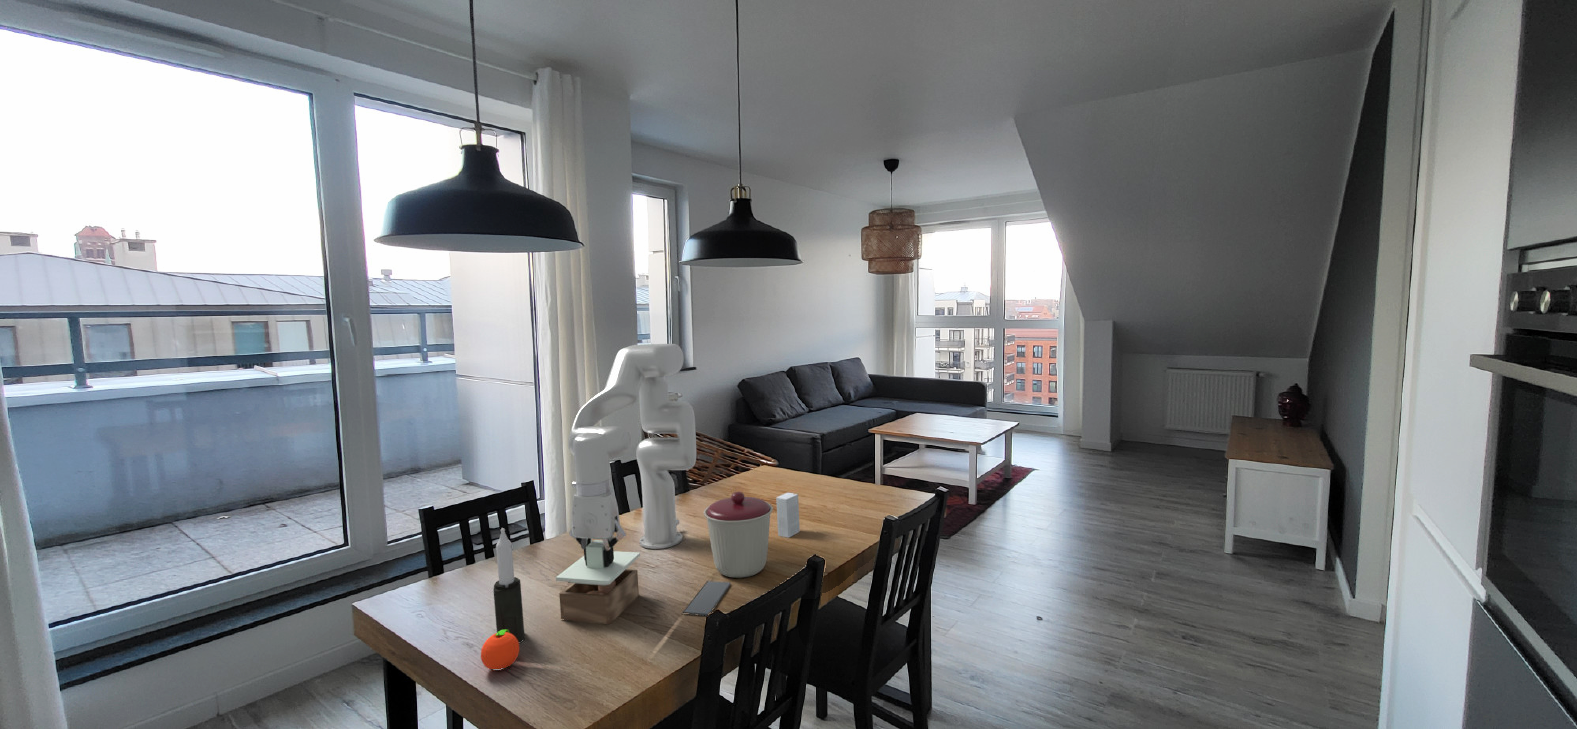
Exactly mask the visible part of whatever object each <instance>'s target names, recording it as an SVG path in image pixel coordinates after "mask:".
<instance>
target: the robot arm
mask: <svg viewBox="0 0 1577 729" xmlns="http://www.w3.org/2000/svg"><path fill="white" fill-rule="evenodd" d="M684 358H685V357H684V352H683V350H682V348H681V347H680V346H679V345H678V344H677V343H651V344H650V343H646V344H645V343H644V344H643V343H642V344H633V345H629V346H626V347H623V348H621V349H620V350H618V352H617V353H616V356H615V357H614V361H613V362H612V363H613V364H612V366H611V369H610V371H609V374H608V377H607V381H606V383H605V386H604V389H603V390H601V391H600V392H599V393H597V394H595V395H594V396H593V397H592V398H591V399H589V401H587V402H586V403H585V404H584V405H583V406H581V408H580V409H579V410H578V412H577V414H576V416H575V419H574V421H573V423H572V425H571V429H570V432H569V435H568V442H567V444H568V445H567V446H568V450H569V452H570V454H572V456H573V459H574V472H575V481H573V482H572V483H571V487H572V488H574V489H575V491H576V493H574V494H573V497H572V505H571V529H570V530H569V532H568V534H569V536H570V537H571V538H573V539H575V540H576V542H577V543H578V544H580V547H581V549H582V550H583V556H584V559H585V563H586V566H587V557H586V546H588V545H589V544H590V543H592V542H593V540H603V543H604V547H605V550H604V551H603V557H604V566H605V567H608V566H609V565H610V564H611V563H612V562H613V560H614V551H615V550H614V546H616V544H617V543H618V542H619V541H621V540H622V539H624V538H625V537H626V536H627V534H626V532H625V530H624V529H623V527H622V525H621V522H620V521H621V520H620V514H619V506H618V502H617V498H616V495H615V491H614V490H612V485H611V484H612V483H611V469H610V466H611V465H610V460H614V459H618V458H621V457H623V456H624V455H625V454H626V453H627V452H628V451H629V449H630V447H631V444H632V443H631V441H632V439H631V434H630V432H629V431H628V429H626V428H624V427H622V426H616V425H612V426H609V425H608V426H607V425H606V426H605V425H604V426H603V425H599V426H596V424H597V423H598V422H600V421H602V420H603V419H605V418H606V417H609V416H610V415H613V414H616V413H618V412H620V411H623V410H626V409H628V408H629V407H631V406H633V405H634V404H635V403H636V402H637V401H638V400H637V399H639V416H640V418H639V420H640V421H639V422H640V425H641V429H642V430H643V432H644V433H647V434H655V435H656V434H675V435H677V437H647V438H645V439H643V440H641V441H640V442H639V443H638V445H637V446H636V450H635V451H636V452H635V453H636V462H637V464H638V468H639V473H640V481H641V494H642V498H641V499H642V513H643V514H642V515H643V529H644V530H643V531H644V534H643V535H642V536H641V537H640V538H639V545H640V546H641V547H643V548H645V549H650V550H652V549H653V550H658V549H659V550H660V549H667V548H671V547H674V546H676V545H678V544H680V543H681V542H682V541H683V534H682V533H681V532H679V531H677V529H678V528H677V527H678V525H679V524H680V520H679V518H677V510H676V495H675V494H676V493H675V492H676V491H675V490H676V489H675V482H674V480H673V477H672V475H671V474H670V473H669V471H685V470H686V471H687V470H691V469H693V467H694V466H695V464H696V461H697V437H696V418H695V411H694V408H693V406H692V405H691V404H690V403H689V402H688V401H685V400H684V401H683V400H682V401H681V400H670V396H669V386H668V384H669V383H668V382H667V380H666V377H669V376H673V375H675V374H678V373H679V372H680V371H681V369H682V368H683V365H684V361H685V360H684ZM638 397H639V398H638ZM615 533H616V536H614V534H615Z"/></svg>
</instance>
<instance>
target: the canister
mask: <svg viewBox="0 0 1577 729" xmlns="http://www.w3.org/2000/svg"><path fill="white" fill-rule="evenodd" d="M773 510H774V508H773V505H771V503H769V502H767V501H765V500H763V499H761V498H758V497H752V496H745V494H744V492H741V491H735V492H733V493H732V494H731V496H730V497H727V498H723V499H719V500H717V501H714V502H713V503H711V504H710V505H708V506H707V507H706V508H705V509H704V511H703V516H704V517H705V518H706V522H707V527H708V528H707V529H708V534H709V541H710V546H711V552H712V558H713V563H714V566H715V568H716V570H717V571H718V572H719V574H721V575H723V576H725V577H729V578H734V579H737V578H741V579H742V578H747V577H748V578H749V577H751V576H755V575H757V574H758V573H760V572H761V571H763V569H764V568H765V565H766V563H767V559H768V550H769V549H768V548H769V539H770V538H769V536H770V523H771V521H770V520H771V514H772V512H773Z"/></svg>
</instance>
